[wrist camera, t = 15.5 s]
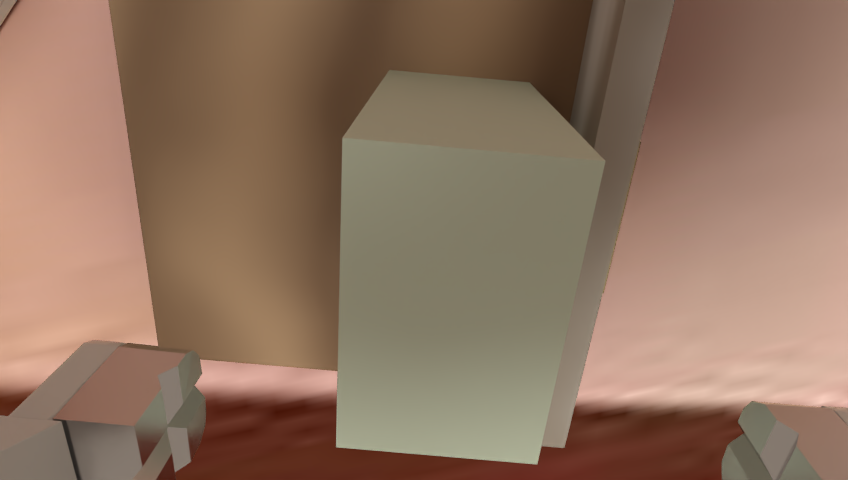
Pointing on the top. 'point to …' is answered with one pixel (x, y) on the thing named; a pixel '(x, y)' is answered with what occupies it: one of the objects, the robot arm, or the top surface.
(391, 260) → the carton
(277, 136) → the shelf board
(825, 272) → the top surface
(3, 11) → the small box
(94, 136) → the top surface
